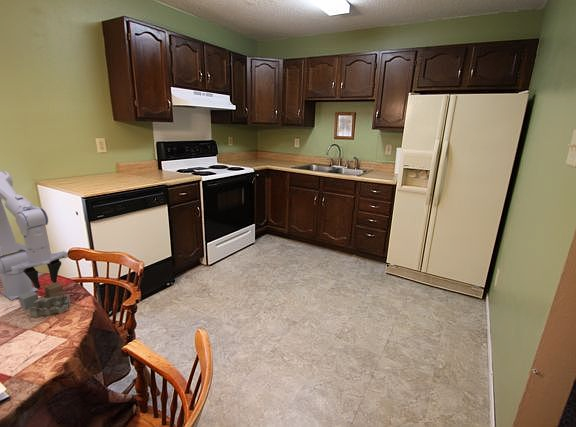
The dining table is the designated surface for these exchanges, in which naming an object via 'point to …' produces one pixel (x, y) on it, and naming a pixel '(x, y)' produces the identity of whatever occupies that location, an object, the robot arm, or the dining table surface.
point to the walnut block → (54, 290)
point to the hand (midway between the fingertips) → (46, 284)
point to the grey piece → (48, 302)
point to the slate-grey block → (28, 299)
